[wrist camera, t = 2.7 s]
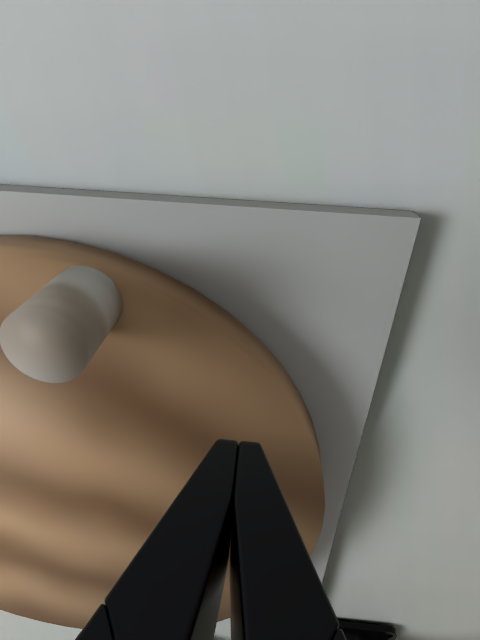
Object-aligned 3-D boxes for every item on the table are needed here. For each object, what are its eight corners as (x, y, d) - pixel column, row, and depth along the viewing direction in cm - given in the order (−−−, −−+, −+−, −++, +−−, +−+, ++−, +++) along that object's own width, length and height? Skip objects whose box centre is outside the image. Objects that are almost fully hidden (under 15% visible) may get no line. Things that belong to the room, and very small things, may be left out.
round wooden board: (234, 629, 28) (227, 728, 24) (-135, 541, 26) (-218, 632, 21) (423, 347, 16) (481, 442, 11) (-248, 131, 13) (-496, 147, 9)
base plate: (411, 210, 14) (456, 247, 11) (309, 608, 28) (314, 681, 25) (-319, 163, 15) (-492, 182, 12) (-74, 569, 29) (-121, 633, 26)
